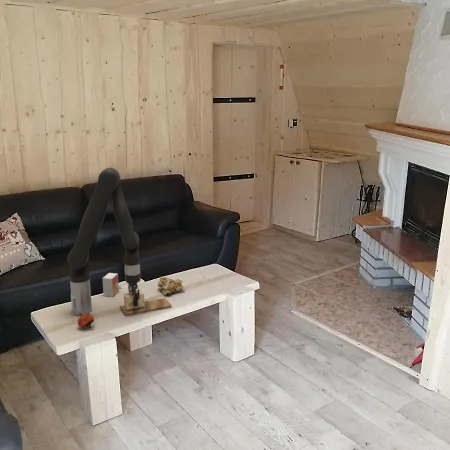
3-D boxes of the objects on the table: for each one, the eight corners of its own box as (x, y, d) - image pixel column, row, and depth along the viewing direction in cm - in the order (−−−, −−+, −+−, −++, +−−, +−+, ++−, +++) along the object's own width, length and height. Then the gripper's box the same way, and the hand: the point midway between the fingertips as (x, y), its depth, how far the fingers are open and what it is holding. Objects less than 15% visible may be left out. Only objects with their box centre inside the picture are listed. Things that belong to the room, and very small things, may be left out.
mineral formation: (165, 298, 258) (150, 287, 269) (185, 295, 267) (170, 285, 278) (167, 284, 256) (152, 274, 267) (188, 281, 265) (172, 272, 276)
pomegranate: (97, 330, 228) (86, 313, 232) (100, 322, 223) (89, 305, 227) (83, 337, 224) (72, 320, 227) (86, 329, 218) (75, 312, 222)
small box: (113, 297, 259) (112, 278, 256) (103, 296, 260) (102, 277, 257) (119, 291, 267) (118, 273, 264) (109, 290, 268) (108, 272, 265)
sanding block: (126, 310, 240) (126, 297, 238) (124, 306, 244) (123, 293, 242) (144, 307, 243) (144, 294, 241) (141, 303, 248) (141, 290, 246)
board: (125, 316, 237) (124, 314, 237) (120, 308, 246) (120, 306, 246) (171, 307, 247) (171, 305, 247) (165, 300, 256) (165, 297, 256)
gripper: (121, 268, 243) (123, 299, 248) (128, 278, 231) (130, 310, 235) (136, 266, 246) (137, 297, 251) (144, 275, 234) (145, 308, 239)
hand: (134, 303), depth 243 cm, fingers closed on sanding block, 5 cm apart
